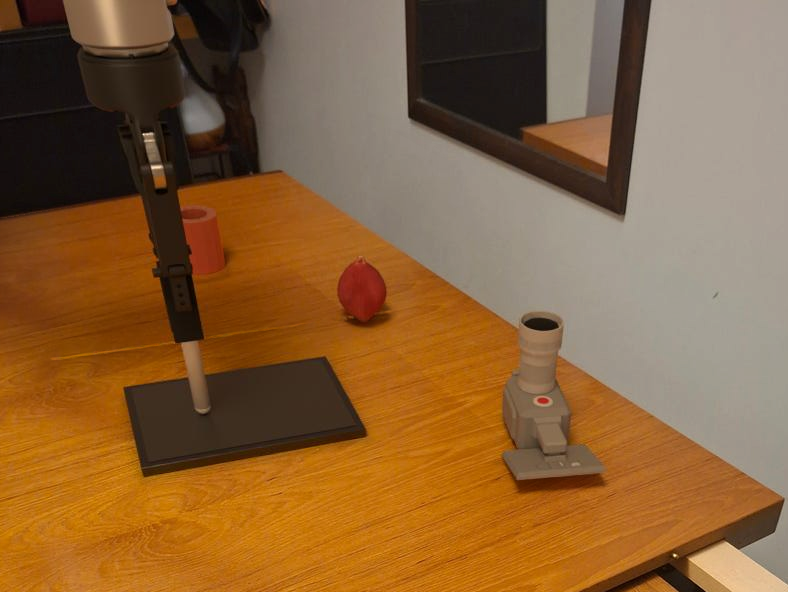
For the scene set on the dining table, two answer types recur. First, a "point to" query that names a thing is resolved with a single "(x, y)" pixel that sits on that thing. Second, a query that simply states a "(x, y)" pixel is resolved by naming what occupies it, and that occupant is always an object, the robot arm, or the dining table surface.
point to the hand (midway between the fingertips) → (187, 334)
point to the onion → (361, 290)
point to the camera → (541, 407)
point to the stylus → (196, 376)
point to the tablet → (240, 415)
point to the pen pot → (203, 239)
